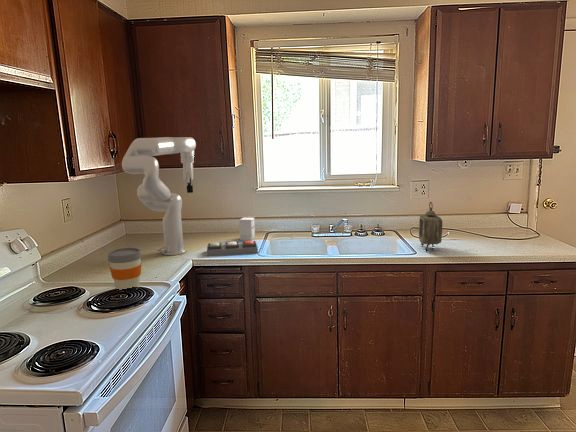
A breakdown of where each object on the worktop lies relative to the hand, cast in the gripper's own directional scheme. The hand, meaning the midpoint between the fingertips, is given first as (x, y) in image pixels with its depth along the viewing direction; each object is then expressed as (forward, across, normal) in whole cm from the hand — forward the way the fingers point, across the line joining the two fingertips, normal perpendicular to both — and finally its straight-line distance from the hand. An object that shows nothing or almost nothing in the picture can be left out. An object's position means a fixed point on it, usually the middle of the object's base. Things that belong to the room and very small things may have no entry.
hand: (190, 192), depth 231 cm
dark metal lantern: (+29, +44, +124) cm, 135 cm away
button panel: (+29, +26, +22) cm, 45 cm away
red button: (+26, +26, +31) cm, 48 cm away
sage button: (+26, +26, +13) cm, 39 cm away
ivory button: (+26, +26, +22) cm, 43 cm away
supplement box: (+29, +1, +32) cm, 43 cm away
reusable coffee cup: (+29, +69, -22) cm, 78 cm away
